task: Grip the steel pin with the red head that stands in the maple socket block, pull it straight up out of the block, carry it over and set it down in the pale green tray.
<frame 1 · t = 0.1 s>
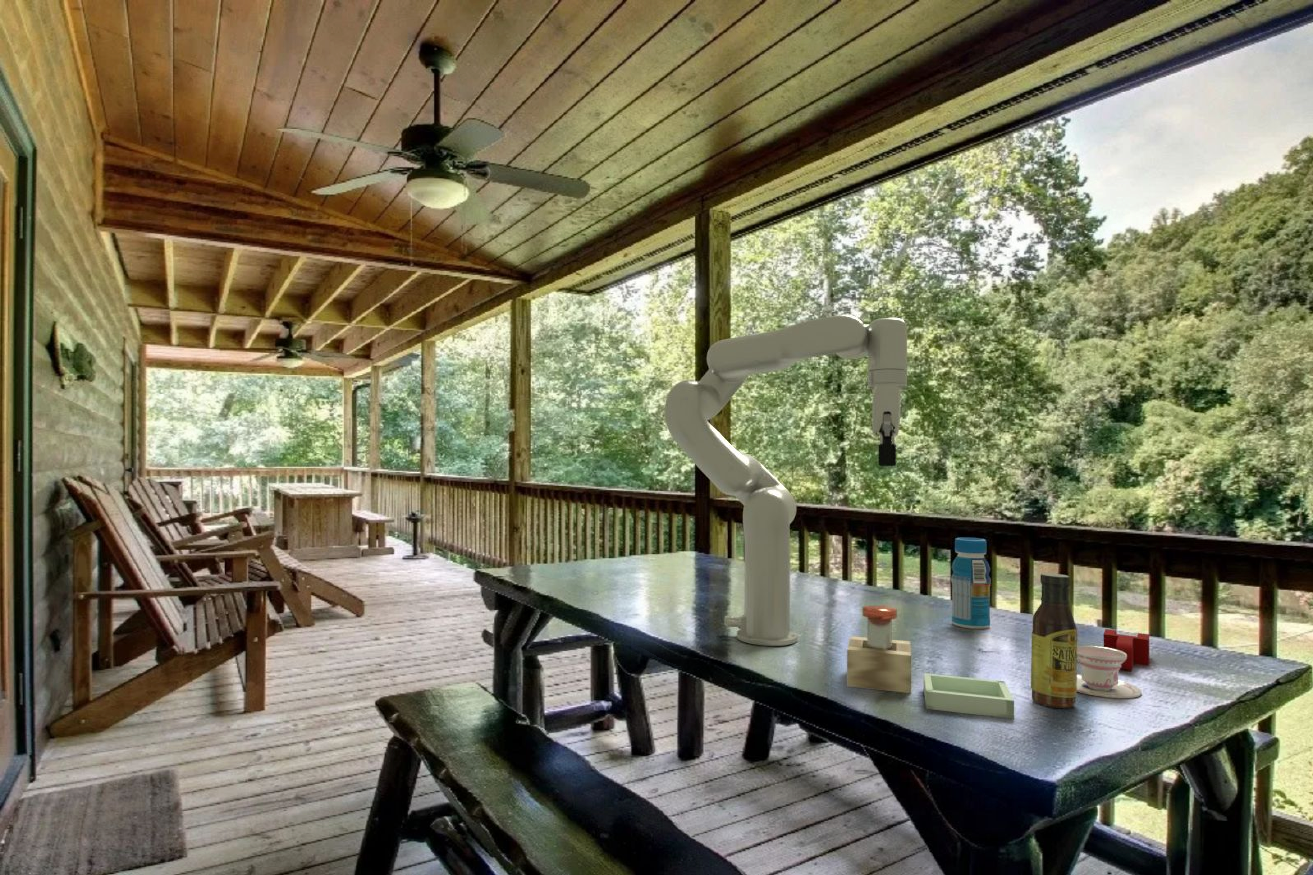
hand: (887, 465, 143), 37 cm above the table, tool pointing down, fingers open, 9 cm apart
beverage bottle: (970, 626, 165), on the table
pin: (879, 644, 122), in the socket block
mechanical linkage: (1125, 664, 136), on the table
socket block: (879, 681, 121), on the table
tray: (966, 703, 111), on the table
teacup: (1098, 689, 120), on the table
sauce bottle: (1054, 704, 111), on the table
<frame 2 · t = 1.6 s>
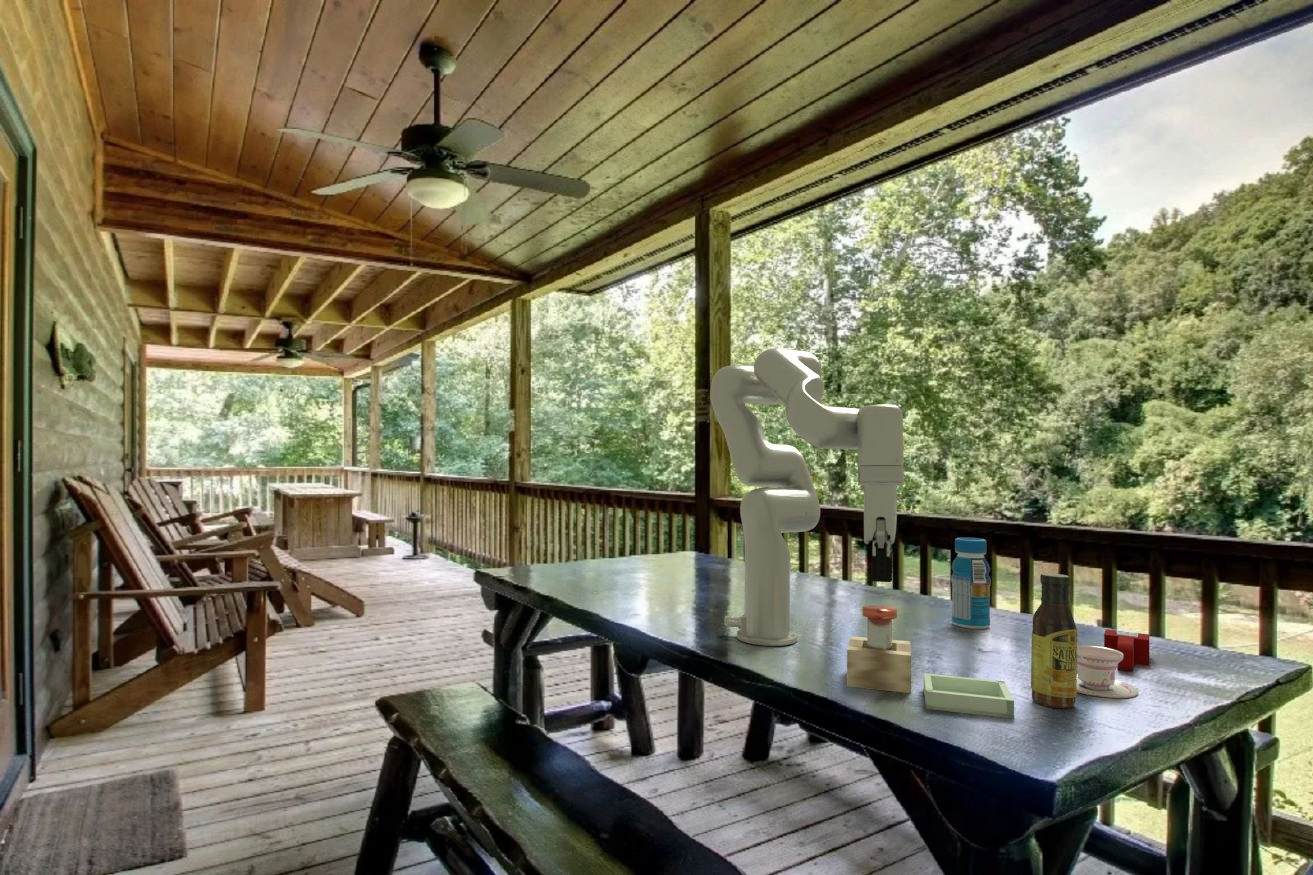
hand: (882, 577, 121), 18 cm above the table, tool pointing down, fingers open, 9 cm apart
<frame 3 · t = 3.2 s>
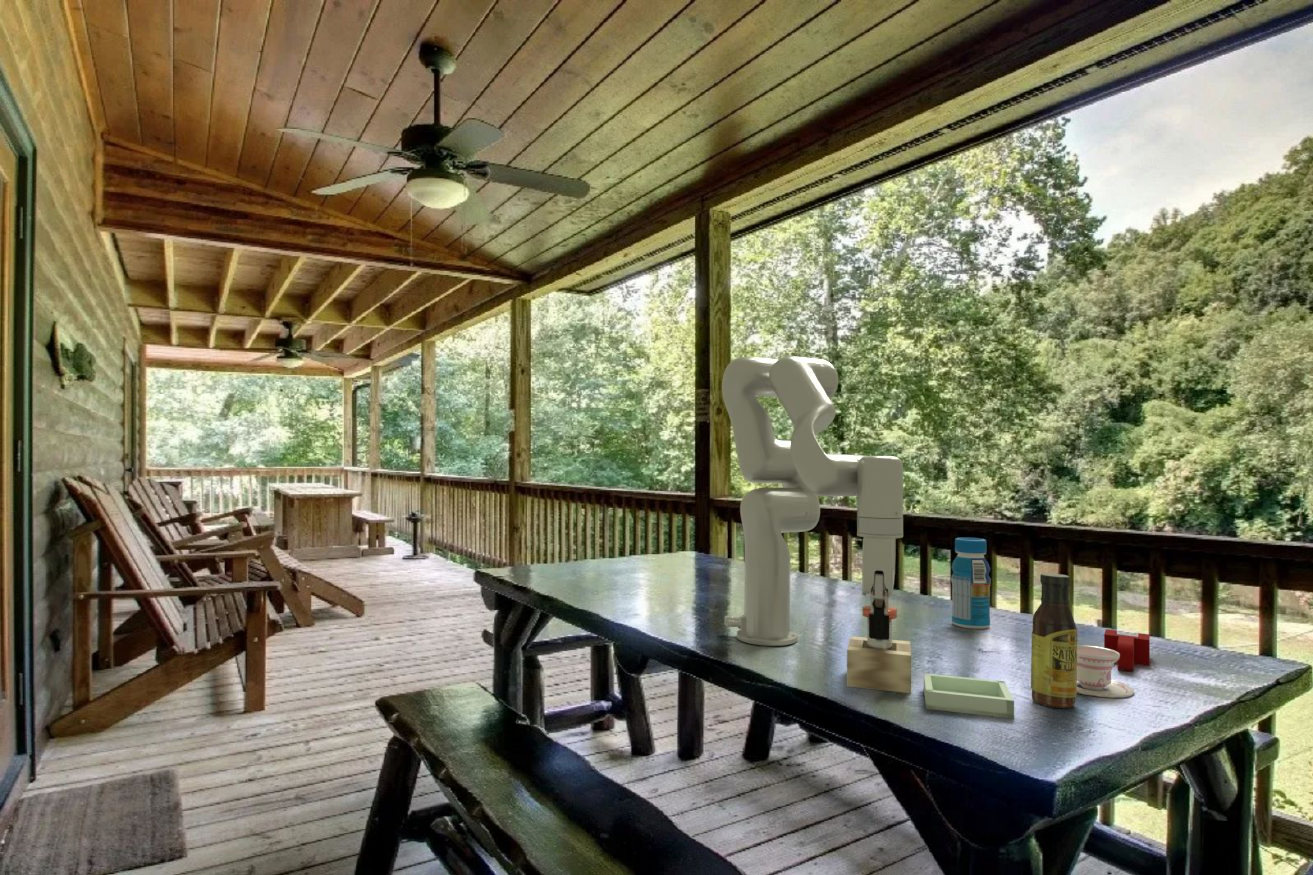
hand: (879, 633, 122), 8 cm above the table, tool pointing down, fingers closed on pin, 5 cm apart
pin: (879, 644, 122), in the socket block, touching gripper
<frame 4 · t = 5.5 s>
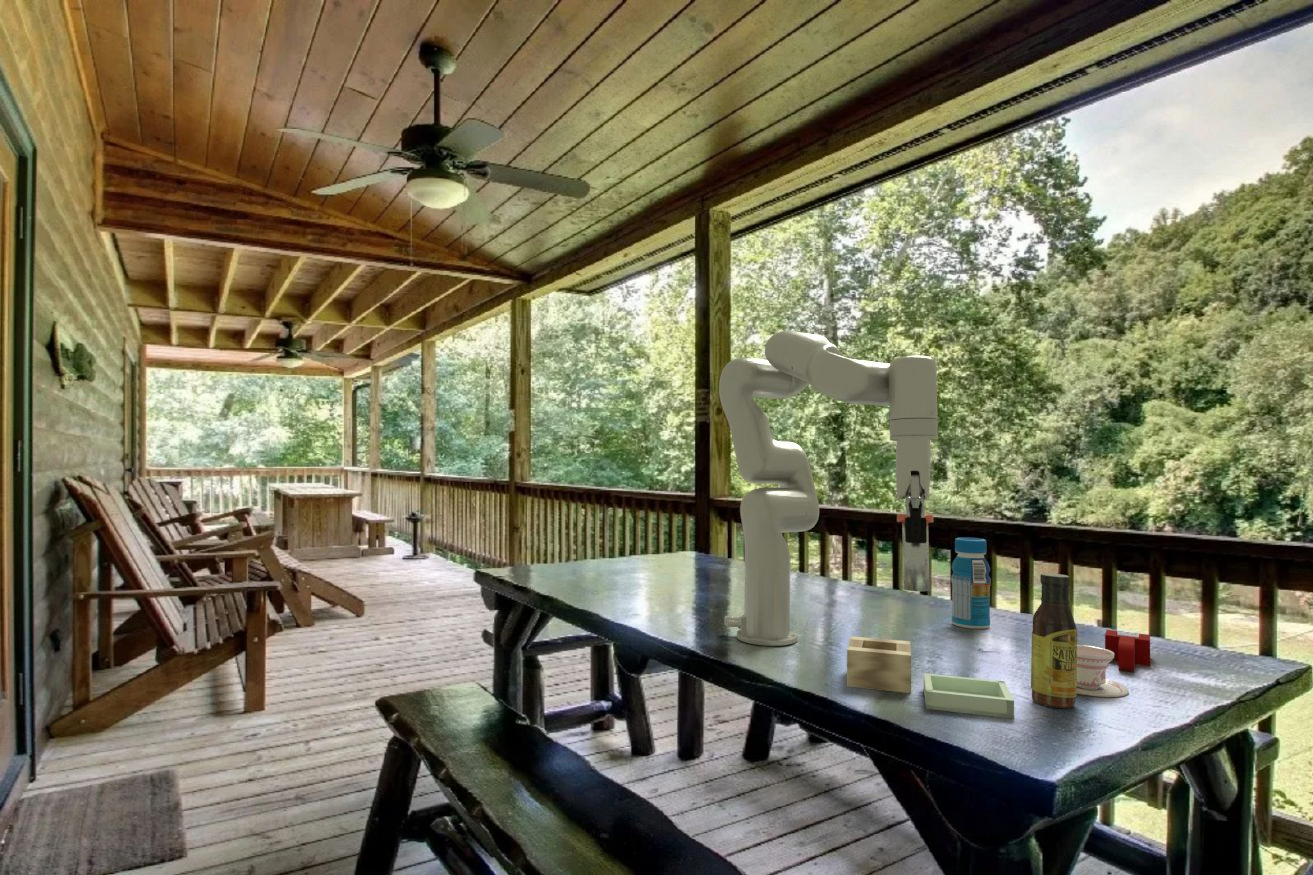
hand: (915, 540, 117), 24 cm above the table, tool pointing down, fingers closed on pin, 5 cm apart
pin: (915, 551, 117), point 22 cm above the table, touching gripper
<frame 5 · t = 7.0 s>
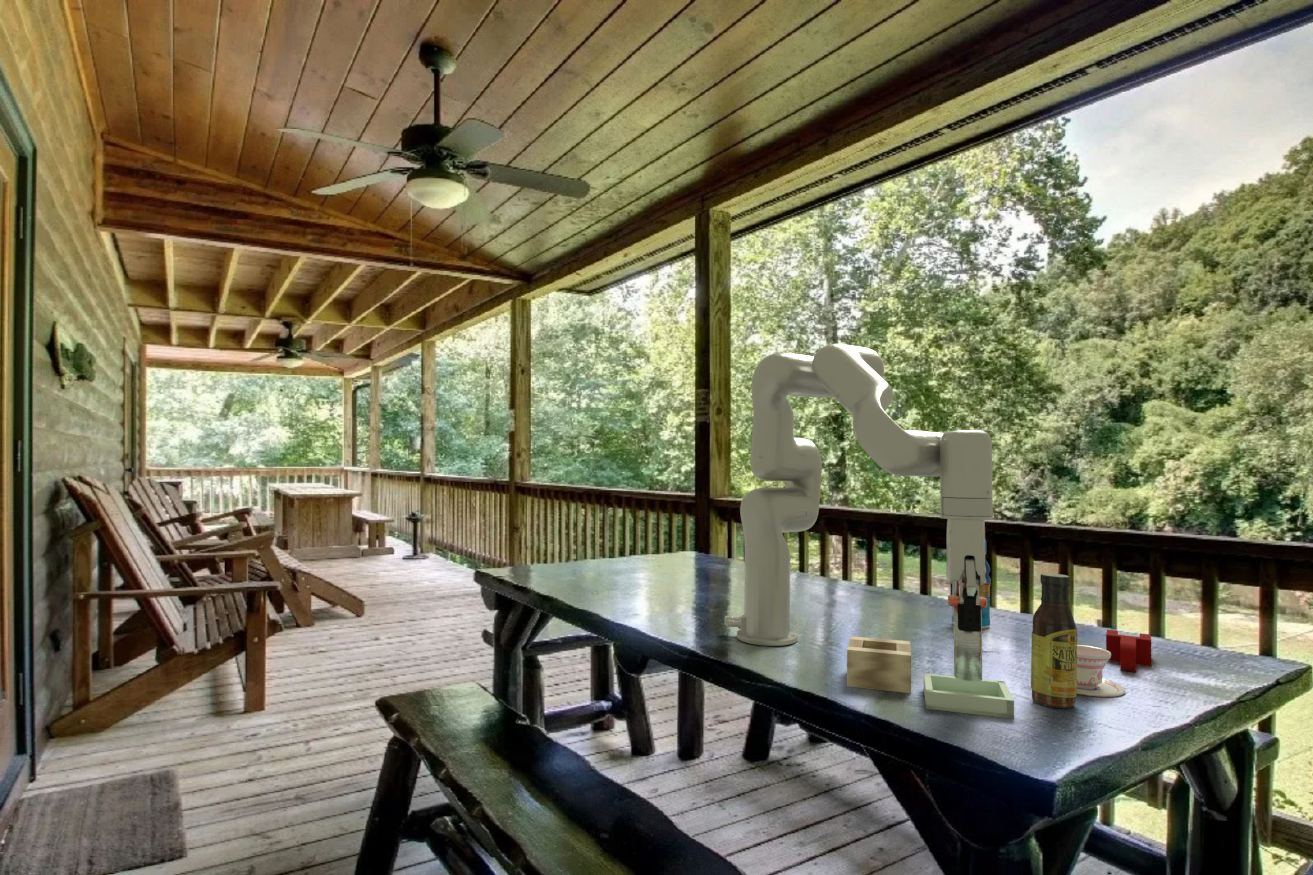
hand: (967, 625, 111), 12 cm above the table, tool pointing down, fingers closed on pin, 5 cm apart
pin: (967, 637, 111), point 10 cm above the table, touching gripper
when the fingers open (9 cm above the table, at t = 8.1 s): pin stays where it is, resting on tray.
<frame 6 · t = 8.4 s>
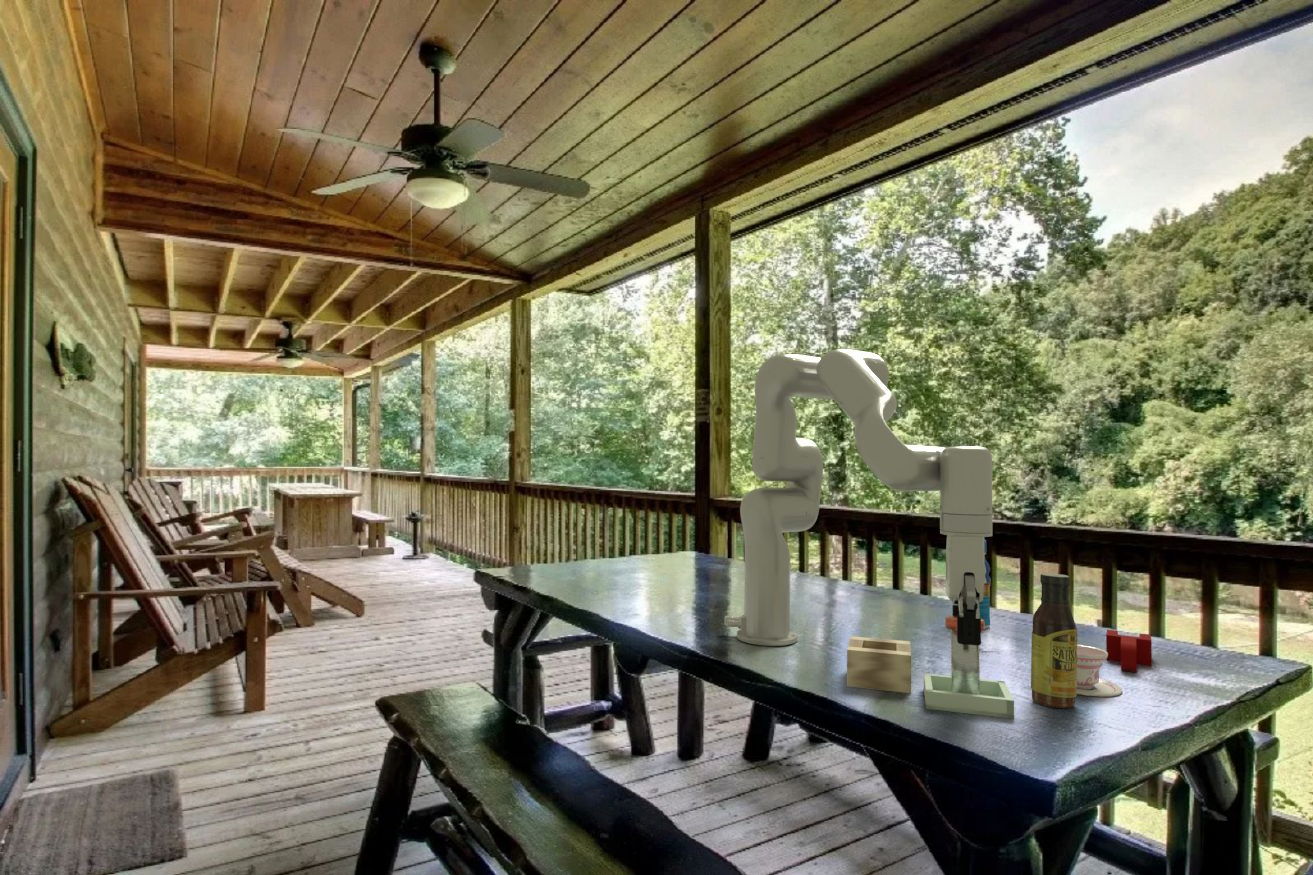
hand: (966, 637, 111), 10 cm above the table, tool pointing down, fingers open, 8 cm apart
pin: (965, 659, 111), in the tray, point 7 cm above the table
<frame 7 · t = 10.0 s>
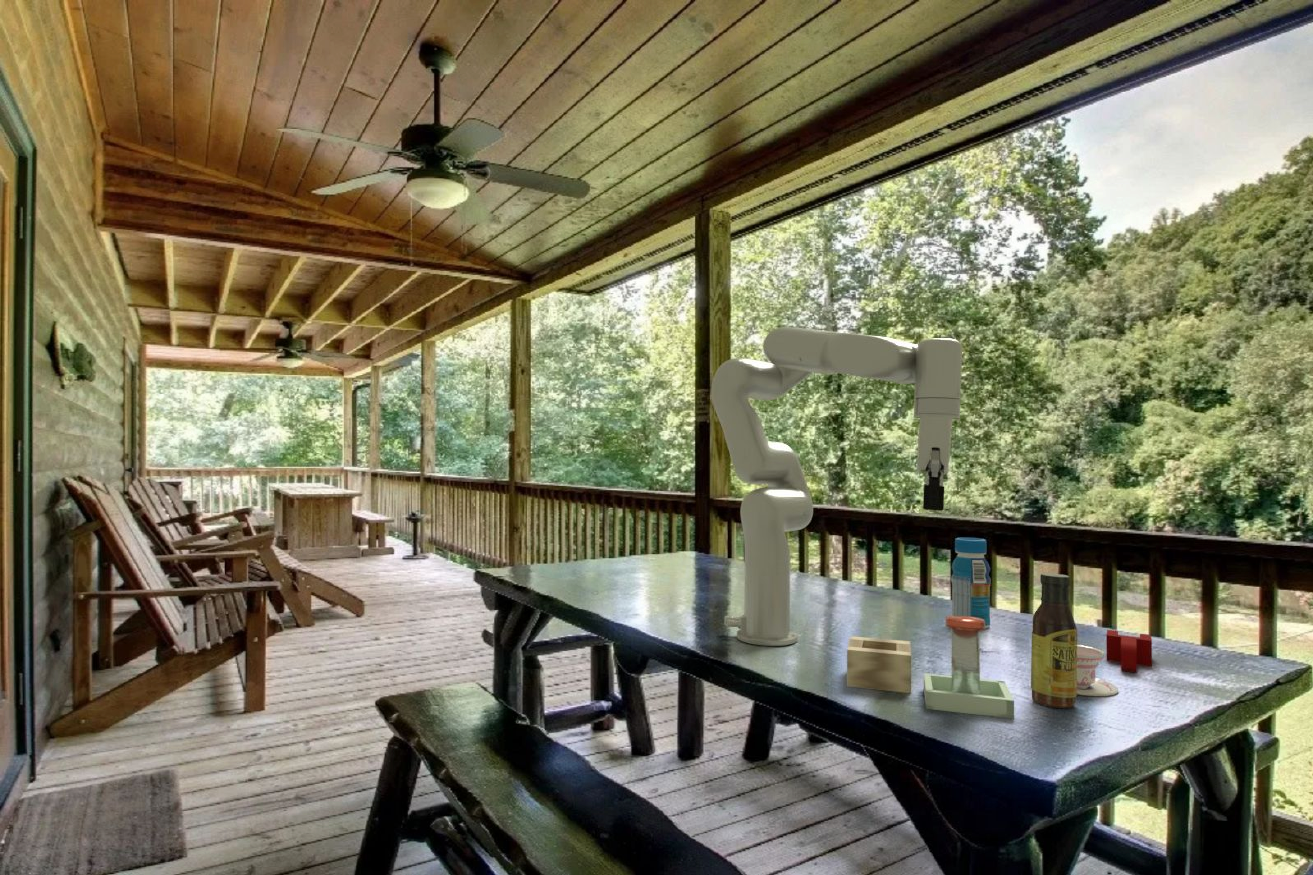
hand: (932, 507, 125), 29 cm above the table, tool pointing down, fingers open, 9 cm apart
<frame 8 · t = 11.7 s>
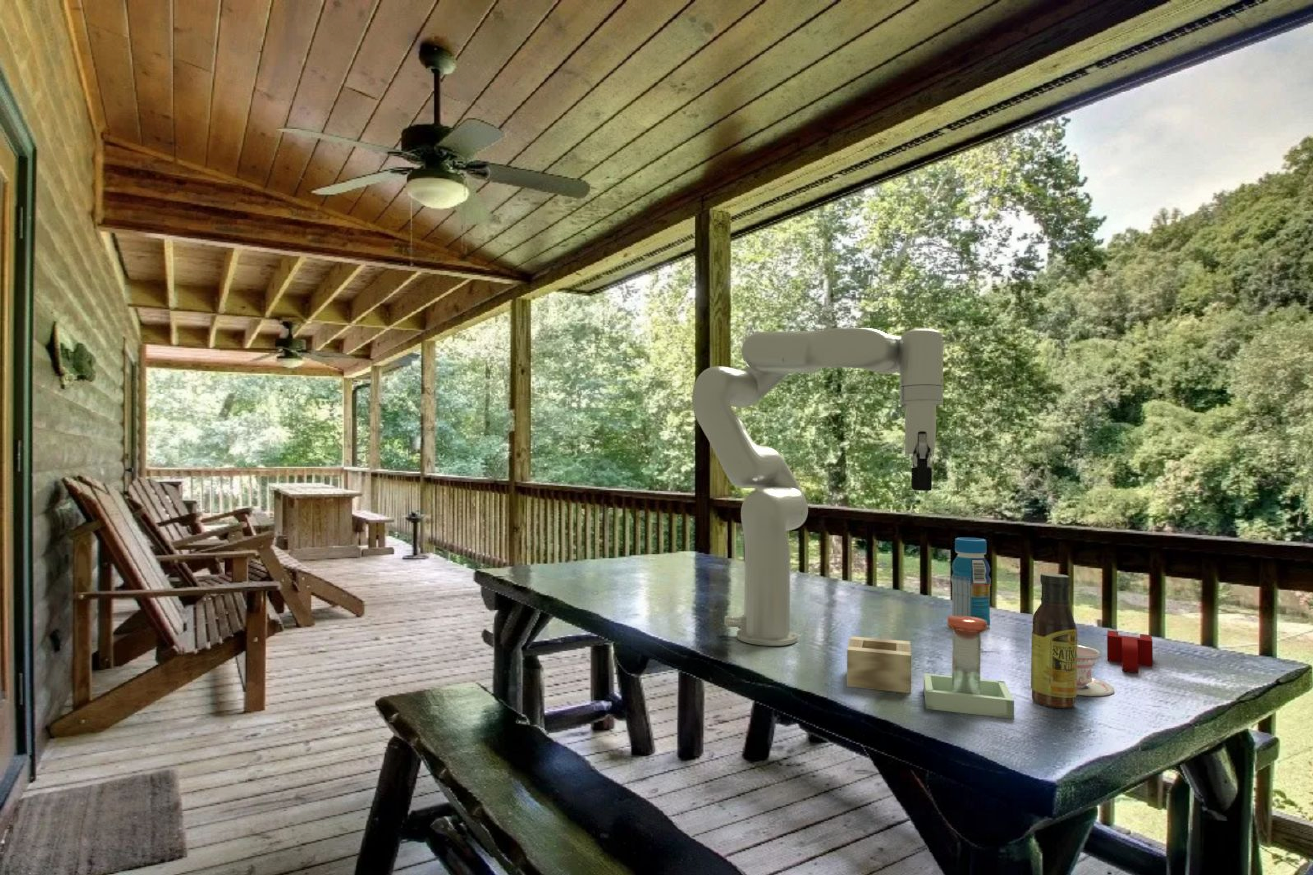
hand: (921, 489, 132), 32 cm above the table, tool pointing down, fingers open, 9 cm apart
at the end: pin inside the target area on the tray (0.1 cm from its centre), point 6.7 cm above the tray's base; pin touching tray; the gripper is holding nothing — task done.
